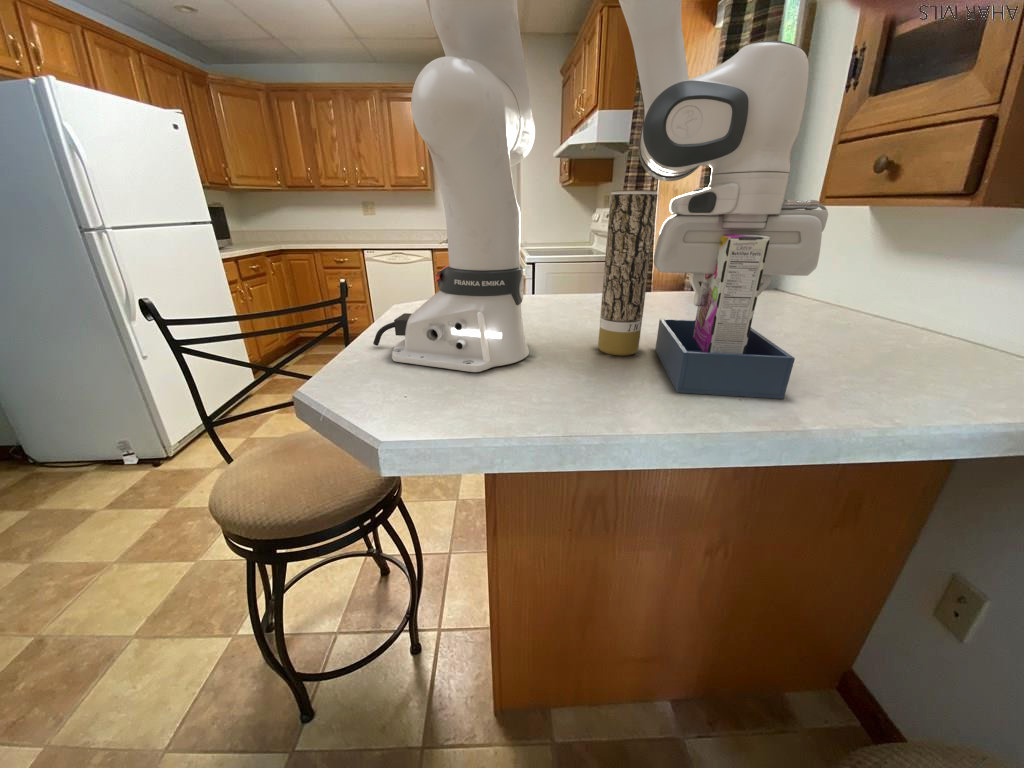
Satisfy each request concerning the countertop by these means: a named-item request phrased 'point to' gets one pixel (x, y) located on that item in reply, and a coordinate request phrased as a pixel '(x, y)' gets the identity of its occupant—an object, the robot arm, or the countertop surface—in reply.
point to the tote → (722, 364)
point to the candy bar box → (731, 294)
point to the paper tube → (626, 269)
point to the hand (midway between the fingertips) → (723, 306)
